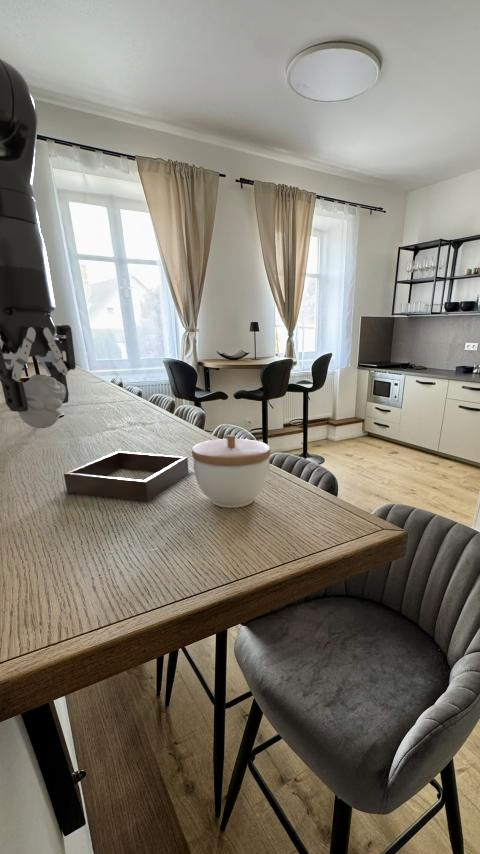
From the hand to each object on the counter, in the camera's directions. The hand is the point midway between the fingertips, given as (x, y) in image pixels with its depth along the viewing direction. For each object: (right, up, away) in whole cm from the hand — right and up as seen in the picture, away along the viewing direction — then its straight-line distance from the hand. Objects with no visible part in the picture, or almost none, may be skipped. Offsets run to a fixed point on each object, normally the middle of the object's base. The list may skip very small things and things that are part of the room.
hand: (41, 406), depth 56 cm
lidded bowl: (+24, -13, +14) cm, 31 cm away
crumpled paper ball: (0, -3, +1) cm, 3 cm away
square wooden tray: (+5, -9, +21) cm, 24 cm away
